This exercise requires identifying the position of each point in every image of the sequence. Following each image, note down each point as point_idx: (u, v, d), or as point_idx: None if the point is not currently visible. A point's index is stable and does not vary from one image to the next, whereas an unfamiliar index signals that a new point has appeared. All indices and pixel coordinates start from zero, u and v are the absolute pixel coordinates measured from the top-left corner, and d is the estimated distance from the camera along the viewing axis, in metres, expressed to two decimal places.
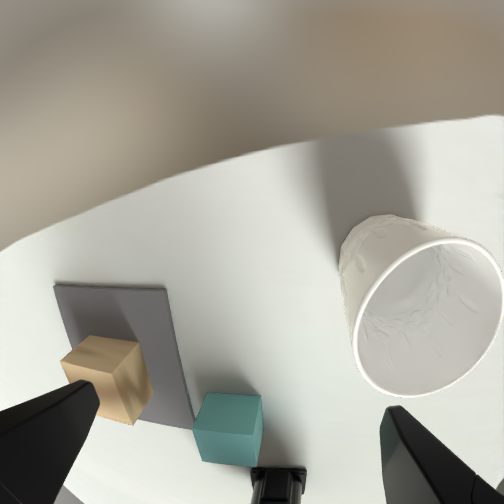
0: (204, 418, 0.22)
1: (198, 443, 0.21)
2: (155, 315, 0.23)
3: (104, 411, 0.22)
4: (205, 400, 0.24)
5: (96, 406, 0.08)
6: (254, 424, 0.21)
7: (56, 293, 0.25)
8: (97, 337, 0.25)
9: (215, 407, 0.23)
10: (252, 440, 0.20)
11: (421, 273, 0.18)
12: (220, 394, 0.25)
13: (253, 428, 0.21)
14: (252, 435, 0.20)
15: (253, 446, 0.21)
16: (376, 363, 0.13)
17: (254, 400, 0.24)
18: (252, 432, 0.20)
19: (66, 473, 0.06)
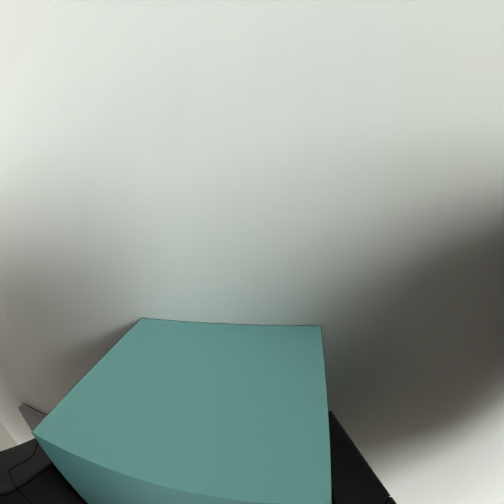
0: None
1: None
2: None
3: None
4: None
5: None
6: (68, 398, 0.05)
7: None
8: None
9: None
10: (59, 449, 0.03)
11: None
12: None
13: (55, 412, 0.04)
14: (39, 434, 0.04)
15: (100, 465, 0.03)
16: None
17: None
18: (41, 426, 0.04)
19: None
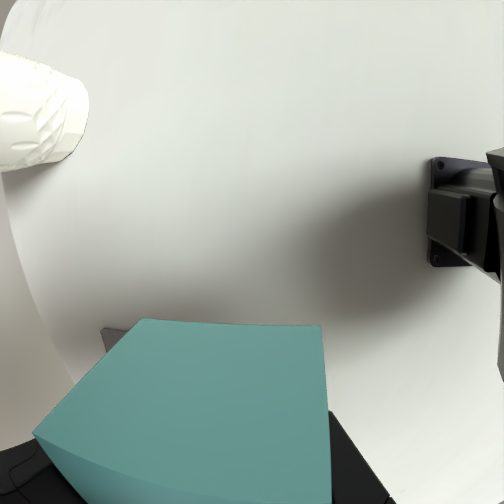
0: None
1: None
2: None
3: None
4: None
5: None
6: (68, 398, 0.05)
7: None
8: None
9: None
10: (59, 449, 0.03)
11: None
12: None
13: (55, 411, 0.04)
14: (39, 434, 0.04)
15: (101, 465, 0.03)
16: None
17: None
18: (42, 426, 0.04)
19: None
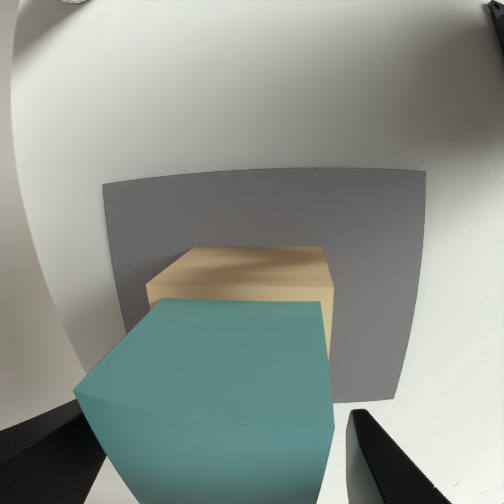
0: None
1: None
2: (137, 203, 0.14)
3: None
4: None
5: None
6: (104, 361, 0.06)
7: None
8: None
9: None
10: (100, 401, 0.05)
11: None
12: None
13: (93, 373, 0.06)
14: (80, 391, 0.05)
15: (140, 409, 0.05)
16: None
17: None
18: (81, 385, 0.05)
19: (90, 485, 0.06)
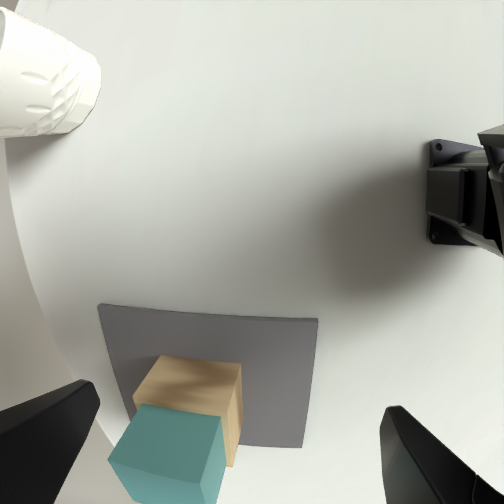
0: None
1: None
2: (122, 323, 0.20)
3: None
4: None
5: (96, 406, 0.08)
6: (117, 444, 0.12)
7: None
8: None
9: None
10: (119, 464, 0.11)
11: None
12: None
13: (114, 450, 0.12)
14: (110, 459, 0.11)
15: (135, 468, 0.11)
16: None
17: None
18: (110, 456, 0.11)
19: (66, 473, 0.06)
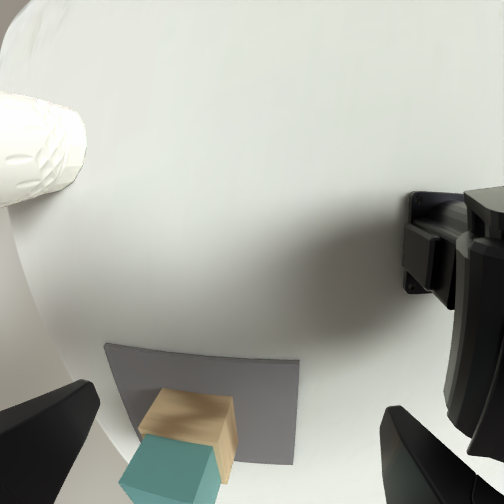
0: None
1: None
2: (127, 361, 0.22)
3: None
4: None
5: (96, 406, 0.08)
6: (126, 470, 0.14)
7: None
8: None
9: None
10: (128, 486, 0.13)
11: None
12: None
13: (123, 474, 0.14)
14: (120, 482, 0.13)
15: (141, 490, 0.13)
16: None
17: None
18: (120, 479, 0.13)
19: (66, 473, 0.06)
